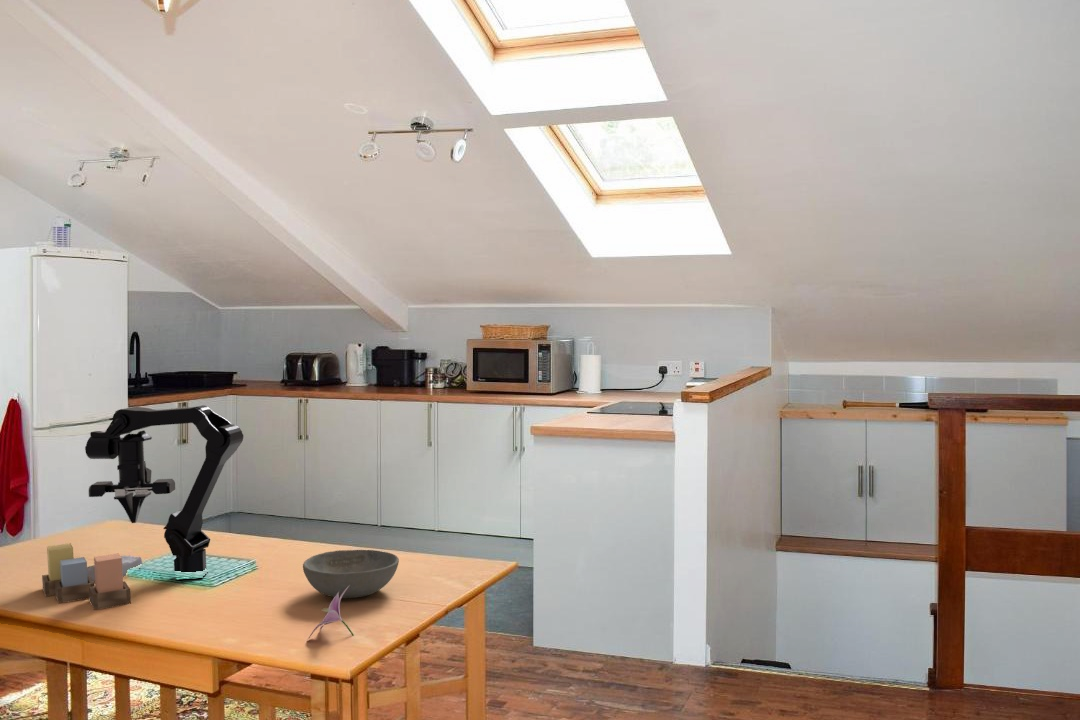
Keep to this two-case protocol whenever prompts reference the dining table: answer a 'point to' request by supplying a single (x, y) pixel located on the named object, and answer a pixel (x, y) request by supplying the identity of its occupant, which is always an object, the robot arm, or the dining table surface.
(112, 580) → the tan block
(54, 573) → the ochre block
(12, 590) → the dining table surface
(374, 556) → the bowl
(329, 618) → the lily
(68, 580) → the blue-grey block
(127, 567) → the stone block
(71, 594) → the walnut sockets
